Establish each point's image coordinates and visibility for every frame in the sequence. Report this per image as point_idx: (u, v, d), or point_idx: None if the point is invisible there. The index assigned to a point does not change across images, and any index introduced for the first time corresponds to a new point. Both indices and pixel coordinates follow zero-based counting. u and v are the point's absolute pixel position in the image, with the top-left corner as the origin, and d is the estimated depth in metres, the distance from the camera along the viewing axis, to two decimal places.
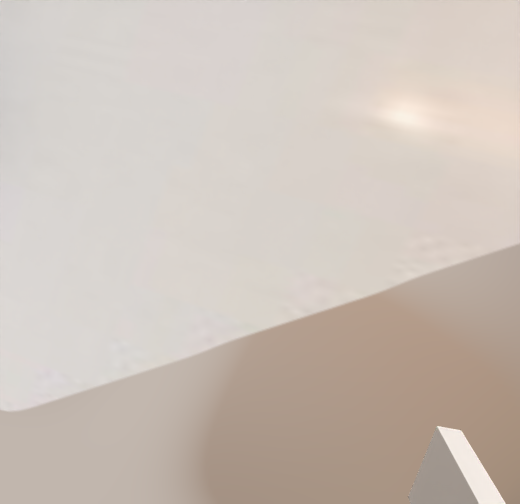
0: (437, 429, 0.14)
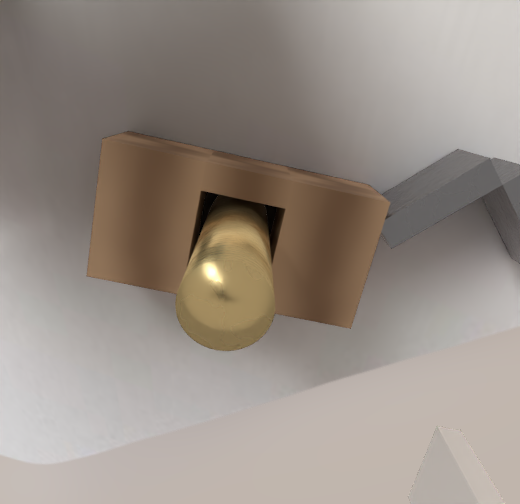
0: (437, 429, 0.14)
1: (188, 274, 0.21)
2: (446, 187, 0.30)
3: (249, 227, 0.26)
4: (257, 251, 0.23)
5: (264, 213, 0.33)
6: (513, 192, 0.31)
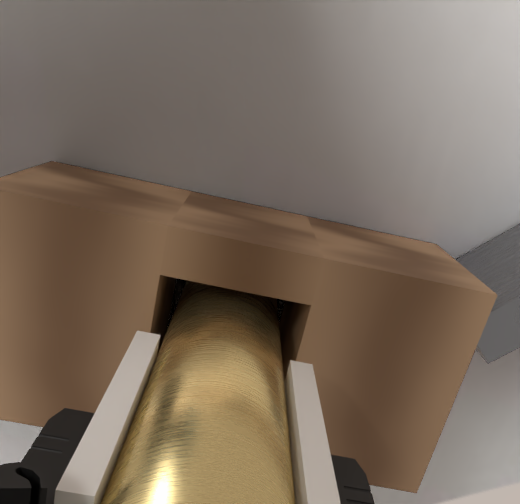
0: (290, 362, 0.16)
1: None
2: None
3: (245, 370, 0.13)
4: (262, 467, 0.10)
5: (272, 299, 0.20)
6: None
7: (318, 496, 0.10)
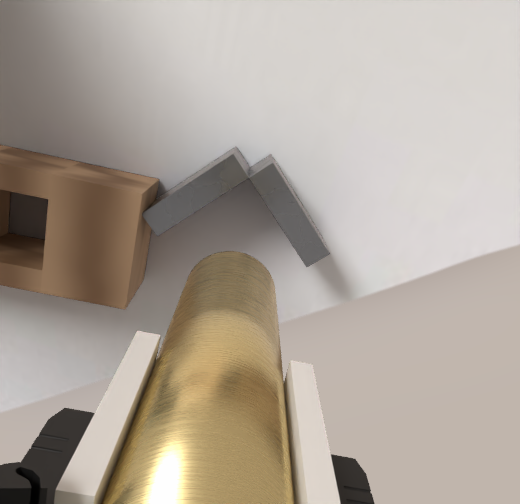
0: (290, 362, 0.16)
1: None
2: (198, 180, 0.34)
3: (245, 372, 0.13)
4: (261, 470, 0.10)
5: (271, 301, 0.20)
6: (260, 184, 0.34)
7: (318, 496, 0.10)
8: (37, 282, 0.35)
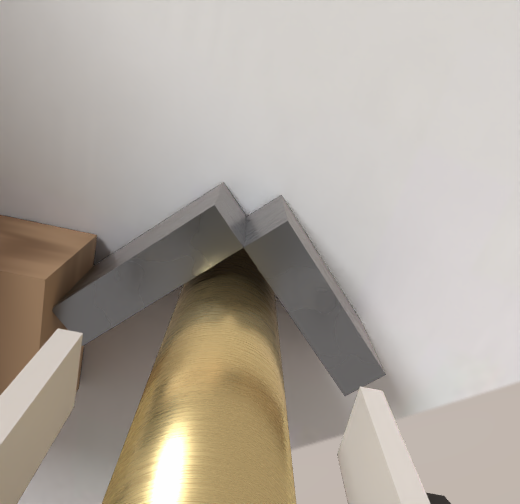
0: (360, 389, 0.15)
1: None
2: (152, 252, 0.18)
3: (246, 349, 0.14)
4: (262, 430, 0.11)
5: (270, 289, 0.21)
6: (264, 259, 0.19)
7: None
8: None
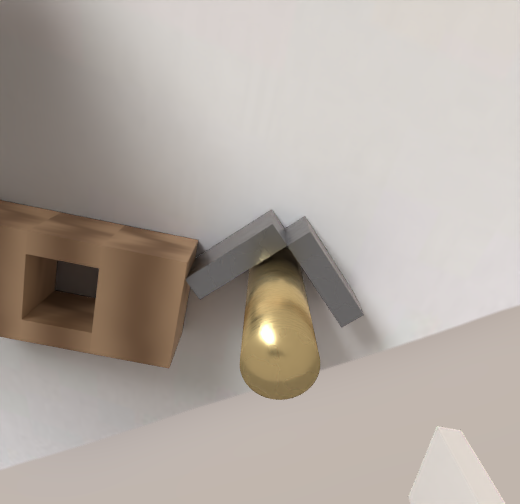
0: (437, 428, 0.14)
1: (250, 339, 0.26)
2: (239, 248, 0.36)
3: (292, 290, 0.31)
4: (302, 315, 0.28)
5: (299, 269, 0.38)
6: (297, 251, 0.36)
7: None
8: (86, 343, 0.37)
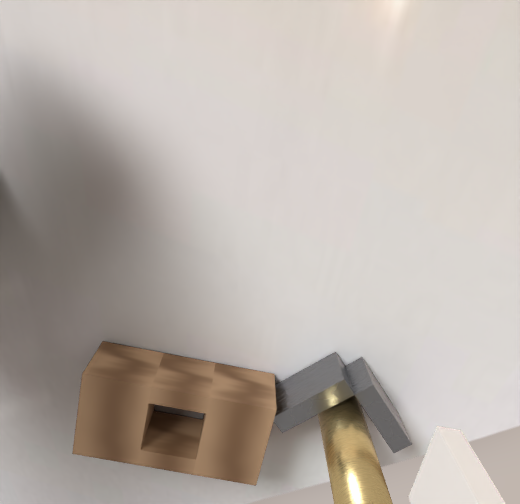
0: (437, 429, 0.14)
1: None
2: (316, 396, 0.45)
3: (366, 446, 0.41)
4: (380, 478, 0.38)
5: None
6: (362, 399, 0.45)
7: None
8: (191, 467, 0.46)
